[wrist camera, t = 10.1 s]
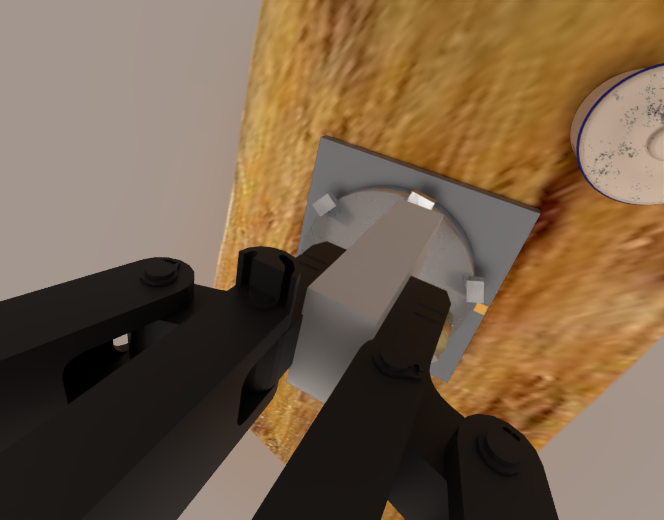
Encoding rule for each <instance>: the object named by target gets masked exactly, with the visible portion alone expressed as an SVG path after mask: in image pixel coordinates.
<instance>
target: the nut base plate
mask: <svg viewBox="0 0 664 520" xmlns="http://www.w3.org/2000/svg"><path fill="white" fill-rule="evenodd" d="M379 185H385V186H396V187H402V188H406V189H410V190H414V189H416V190H418V191H420V192H422V193H423V194H425V195H427V196H429V197H431V198H433V199H435V200H437V201H436V202H437V203H438V204H439V205H441V206H442V207H443V208H444V209H445V210H447V211H448V212H449V213H450V214H451V215H452V216H453V217H454V219H455V220H456V221H457V222H458V223H459V225H460V226H461V228H462V229H463V230H464V232H465V234H466V236H467V238H468V240H469V242H470V244H471V247H472V250H473V253H474V258H475V262H476V277H485V298H484V304H483V303H472V302H471V305H470V308H469V311H468V313H467V316H466V318H465V320H464V321H463V323H462V324H461V326H460V327H459V329H458V330H457V331H456V332H455V333H454V334H453V335H452V336H451V337H450V338H449V339H448V342H447V345H446V348H445V350H444V352H442V353H440V358H439V361H436V362H433V363H431V365H430V375H432V376H434V377H437V378H439V379H441V380H443V381H445V382H448V381H449V379H450V377H451V375H452V373H453V371H454V370H455V368H456V366H457V364H458V362H459V361H460V359H461V357H462V355H463V353H464V351H465V350H466V348H467V346H468V344H469V342H470V341H471V339H472V337H473V335H474V333H475V331H476V330H477V328H478V326H479V324H480V322H481V321H482V319H483V317H484V315H485V313H486V312H487V310H488V308H489V306H490V304H491V302H492V301H493V299H494V297H495V295H496V293H497V292H498V290H499V288H500V286H501V284H502V282H503V281H504V279H505V277H506V275H507V273H508V272H509V270H510V268H511V266H512V264H513V262H514V261H515V259H516V257H517V255H518V253H519V252H520V250H521V248H522V246H523V244H524V242H525V241H526V239H527V237H528V235H529V233H530V232H531V230H532V228H533V226H534V224H535V223H536V221H537V219H538V217H539V215H540V209H537V208H534V207H531V206H528V205H526V204H523V203H520V202H517V201H514V200H511V199H508V198H505V197H502V196H500V195H497V194H494V193H491V192H488V191H485V190H482V189H479V188H476V187H474V186H471V185H468V184H465V183H462V182H459V181H456V180H453V179H450V178H448V177H445V176H442V175H439V174H436V173H433V172H430V171H427V170H424V169H422V168H419V167H416V166H413V165H410V164H407V163H404V162H401V161H399V160H396V159H393V158H390V157H387V156H384V155H381V154H378V153H375V152H373V151H370V150H367V149H364V148H361V147H358V146H355V145H352V144H349V143H347V142H344V141H341V140H338V139H335V138H332V137H329V136H323V137H320V142H319V147H318V152H317V157H316V162H315V167H314V172H313V177H312V182H311V187H310V191H309V196H308V201H307V206H306V211H305V216H304V221H303V226H302V231H301V236H300V241H299V246H298V251H297V256H296V257H298V256H299V255H300V254H301V253H302V247H303V242H304V239H305V236H306V234H307V231H308V229H309V227H310V226H311V224H312V222H313V221H314V219H315V218H316V217H317V216H318V215H319V214H318V213H317V211H316V210H315V208H314V207H313V205H312V204H314V203H315V202H316V201H318V200H319V199H320V198H322V197H323V196H325V195H326V194H327V193H329V192H331V191H332V192H333V194H334V195H335V197H336V198H337V200H338V199H340V198H341V197H343V196H345V195H347V194H348V193H350V192H353V191H355V190H358V189H361V188H365V187H369V186H379Z"/></svg>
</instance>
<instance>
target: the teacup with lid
mask: <svg viewBox="0 0 664 520" xmlns="http://www.w3.org/2000/svg"><path fill="white" fill-rule="evenodd" d="M570 138H571V145H572V149H573V151H574V153H575V155H576V157H577V161H578V165H579V168H580V170H581V172H582V174H583V176H584V178H585V179H586V180H587V182H588V183H589V184H590V185H591V186H592V187H593V188H594V189H595V190H597V191H598V192H599V193H601V194H602V195H604V196H606V197H608V198H610V199H613V200H616V201H619V202H622V203H627V204H634V205H656V204H663V203H664V63H663V64H658V65H654V66H651V67H648V68H643V69H636V70H632V71H628V72H625V73H622V74H619V75H617V76H615V77H613V78H610V79H609V80H607V81H605V82H604V83H602V84H601V85H599V86H598V87H597V88H596V89H594V90H593V91H592V92H591V93H590V94H589V95H588V96H587V97H586V98H585V100H584V101H583V102H582V104H581V105H580V107H579V108H578V110H577V112H576V114H575V116H574V119H573V122H572V126H571V133H570Z"/></svg>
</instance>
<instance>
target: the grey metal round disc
mask: <svg viewBox="0 0 664 520" xmlns="http://www.w3.org/2000/svg"><path fill="white" fill-rule="evenodd" d="M400 199H403V200H406V201H408V202H411V203H414V204H417V205H419V206H422V207H425V208H427V209H430V210H433V211H435V212H438V213H441V214H443V215H444V216H443V219H442V221H441V224H440V226H439V229H438V231H437V234H436V236H435V238H434V241H433V243H432V246H431V248H430V251H429V253H428V256H427V258H426V261H425V263H424V266H423V268H422V271H421V273H420V276H419V278H418V279H420V280H422V281H425V282H427V283H429V284H432V285H434V286H437V287H439V288H441V289H444V290H446V291H447V293H448V296H449V299H450V302H451V306H450V309H449V312H448V315H447V317H446V321H445V324H444V326H443V330H442V333H441V335H440V338H439V341H438V344H437V347H436V350H435V353H434V356H433V359H432V361H431V363H433V362H436V361H439V358H440V353H442V352H444V350H445V348H446V345H447V342H448V339H449V338H450V337H451V336H452V335H453V334H454V333H455V332H456V331H457V330H458V329H459V327H460V326H461V324H462V323H463V321H464V320H465V318H466V316H467V313H468V311H469V308H470V305H471V302H472V303H483V304H484V298H485V277H476V262H475V258H474V253H473V250H472V247H471V244H470V242H469V240H468V238H467V236H466V234H465V232H464V230H463V229H462V228H461V226H460V225H459V223H458V222H457V221H456V220H455V219H454V217H453V216H452V215H451V214H450V213H449V212H448V211H447V210H445V209H444V208H443V207H442V206H441V205H439V204H438V203H437V202H436V201H437V200H435V199H433V198H431V197H429V196H427V195H425V194H423V193H422V192H420V191H418V190H416V189H414V190H410V189H406V188H402V187H396V186H385V185H379V186H369V187H365V188H361V189H358V190H355V191H353V192H350V193H348V194H347V195H345V196H343V197H341V198H340V199H338V200H337V198H336V197H335V195H334V194H333V192H332V191H331V192H329V193H327V194H326V195H325V196H323V197H322V198H320V199H319V200H318V201H316V202H315V203H314V204H312V205H313V207H314V208H315V210H316V211H317V213H318V214H319V215H318V216H317V217H316V218H315V219H314V221H313V222H312V224H311V226H310V227H309V229H308V231H307V234H306V236H305V239H304V242H303V247H302V253H303V252H304V251H305V250H307V249H308V248H309V247H311V246H312V245H314V244H318V243H322V242H326V241H328V242H330V243H333V244H335V245H337V246H340V247H342V248H344V249H347V250H348V249H349V248H350V247H351V246H352V245H353V244H354V243H355V242H356V241H357V240H358V239H359V238H360V237H361V236H362V235H363V234H364V233H365V232H367V231H368V230H369V229H370V228H371V227H372V226H373V225H374V224H375V223H376V222H377V221H378V220H379V219H380V218H381V217H382V216H383V215H384V214H385V213H387V212H388V211H389V210H390V209H391V208H392V207H393V206H394V205H395V204H396V203H397V202H398V201H399V200H400ZM302 253H301V254H302Z"/></svg>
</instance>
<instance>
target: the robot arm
mask: <svg viewBox="0 0 664 520" xmlns="http://www.w3.org/2000/svg"><path fill="white" fill-rule="evenodd" d="M443 216H444V215H443V214H441V213H438V212H435V211H433V210H430V209H427V208H425V207H422V206H419V205H417V204H414V203H411V202H408V201H406V200H403V199H400V200H399V201H398V202H397V203H396V204H395V205H394V206H393V207H392V208H391V209H390V210H389V211H388V212H387V213H385V214H384V215H383V216H382V217H381V218H380V219H379V220H378V221H377V222H376V223H375V224H374V225H373V226H372V227H371V228H370V229H369V230H368V231H367V232H365V233H364V234H363V235H362V236H361V237H360V238H359V239H358V240H357V241H356V242H355V243H354V244H353V245H352V246H351V247H350V248H349V249H348V250H347V249H344V248H342V247H340V246H337V245H335V244H333V243H330V242H328V241H326V242H322V243H318V244H314V245H312V246H311V247H309V248H308V249H307V250H305V251H304V252H303V253H302V254H300V255H299V256H298V257H296V258H295V257H294V256H292V255H290V254H289V253H287V252H285V251H282V250H279V249H276V248H272V247H263V246H259V247H249V248H246V249H244V250H241V251H239V257H238V266H237V276H236V285H235V286H234V287H232V288H231V289H229V290H228V291H224V290H218V289H214V288H210V287H206V286H201V285H197V284H194V271H193V270H192V268H191V267H190V266H189V265H188V264H186V263H184V262H182V261H181V260H177V259H172V258H167V257H166V258H165V257H154V258H148V259H143V260H139V261H136V262H133V263H129V264H126V265H122V266H119V267H116V268H112V269H109V270H106V271H102V272H99V273H95V274H92V275H88V276H85V277H82V278H78V279H75V280H72V281H68V282H65V283H61V284H58V285H54V286H51V287H48V288H44V289H41V290H38V291H34V292H31V293H27V294H24V295H21V296H17V297H14V298H10V299H7V300H4V301H0V520H177V519H178V518H179V516H180V515H181V514H182V512H183V511H184V510H185V509H186V507H187V506H188V505H189V503H190V502H191V501H192V500H193V499H194V497H195V496H196V495H197V494H198V492H199V491H200V490H201V489H202V487H203V486H204V485H205V483H206V482H207V481H208V480H209V478H210V477H211V476H212V475H213V473H214V472H215V471H216V470H217V468H218V467H219V466H220V465H221V463H222V462H223V461H224V460H225V458H226V457H227V456H228V454H229V453H230V452H231V451H232V449H233V448H234V447H235V446H236V444H237V443H238V442H239V441H240V439H241V438H242V437H243V435H244V434H245V433H246V432H247V431H248V429H249V428H250V427H251V425H252V424H253V423H254V422H255V420H256V419H257V418H258V417H259V415H260V414H261V413H262V412H263V410H264V409H265V408H266V407H267V405H268V404H269V403H270V402H271V400H272V399H273V397H274V395H275V393H276V391H277V386H278V381H279V379H280V378H281V377H282V375H283V374H284V373H285V372H286V371H287V369H288V368H289V367H290V368H289V372H288V376H287V381H286V382H287V383H289V384H291V385H293V386H294V387H296V388H298V389H300V390H302V391H303V392H305V393H307V394H309V395H311V396H312V397H314V398H316V399H318V400H319V401H321V402H323V403H325V404H324V406H323V407H322V409H321V411H320V412H319V414H318V415H317V417H316V418H315V420H314V422H313V423H312V425H311V426H310V428H309V430H308V431H307V433H306V434H305V436H304V437H303V439H302V441H301V442H300V444H299V445H298V447H297V449H296V450H295V452H294V453H293V455H292V456H291V458H290V460H289V461H288V463H287V464H286V466H285V468H284V469H283V471H282V472H281V474H280V476H279V477H278V479H277V480H276V482H275V483H274V485H273V487H272V488H271V490H270V491H269V493H268V495H267V496H266V498H265V499H264V501H263V502H262V504H261V506H260V507H259V509H258V510H257V512H256V513H255V515H254V517H253V518H252V520H381V517H382V515H383V512H384V509H385V506H386V503H387V500H388V501H389V502H390V503H391V504H392V505H393V506H394V507H395V508H396V510H397V511H398V512H399V513H400V514H401V515H402V516H403V517H404V518H405V520H559V519H558V516H557V512H556V509H555V505H554V502H553V498H552V495H551V491H550V488H549V485H548V481H547V478H546V474H545V470H544V467H543V465H542V462H541V460H540V458H539V456H538V454H537V452H536V450H535V448H534V447H533V446H532V445H531V443H530V442H529V441H528V440H527V439H526V437H525V436H524V435H523V434H522V433H520V432H519V431H518V430H517V429H515V428H514V427H513V426H511V425H510V424H509V423H507V422H505V421H503V420H501V419H499V418H496V417H494V416H490V415H484V414H475V415H471V416H467V417H466V418H464V417H463V416H462V415H461V414H460V413H458V412H457V411H456V410H455V409H454V408H452V407H451V406H450V405H449V404H448V403H447V402H446V401H445V400H444V399H443V398H442V397H441V396H440V394H439V393H438V392H437V390H436V389H435V387H434V385H433V383H432V380H431V376H430V365H431V361H432V359H433V356H434V353H435V350H436V347H437V344H438V341H439V338H440V335H441V333H442V330H443V326H444V324H445V321H446V317H447V315H448V312H449V309H450V306H451V302H450V299H449V296H448V293H447V291H446V290H444V289H441V288H439V287H437V286H434V285H432V284H429V283H427V282H425V281H422V280H420V279H418V278H419V276H420V273H421V271H422V268H423V266H424V263H425V261H426V258H427V256H428V253H429V251H430V248H431V246H432V243H433V241H434V238H435V236H436V234H437V231H438V229H439V226H440V224H441V221H442V219H443ZM125 334H128V343H127V344H124V345H120V346H115V345H113V339H115V338H118V337H120V336H122V335H125Z"/></svg>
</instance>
